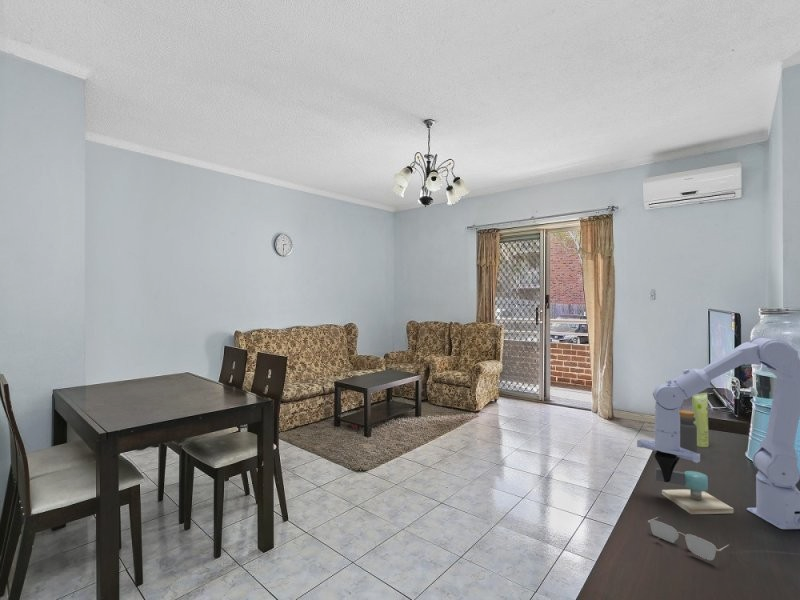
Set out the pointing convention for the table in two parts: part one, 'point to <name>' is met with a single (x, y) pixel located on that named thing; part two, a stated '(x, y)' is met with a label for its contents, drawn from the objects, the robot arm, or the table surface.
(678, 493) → the post block
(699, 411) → the tube
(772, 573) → the table surface
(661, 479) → the teal grey handled piece
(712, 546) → the eyeglasses
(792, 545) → the table surface
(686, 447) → the bottle
